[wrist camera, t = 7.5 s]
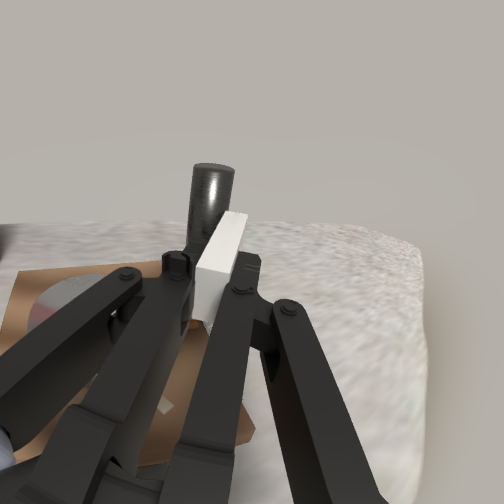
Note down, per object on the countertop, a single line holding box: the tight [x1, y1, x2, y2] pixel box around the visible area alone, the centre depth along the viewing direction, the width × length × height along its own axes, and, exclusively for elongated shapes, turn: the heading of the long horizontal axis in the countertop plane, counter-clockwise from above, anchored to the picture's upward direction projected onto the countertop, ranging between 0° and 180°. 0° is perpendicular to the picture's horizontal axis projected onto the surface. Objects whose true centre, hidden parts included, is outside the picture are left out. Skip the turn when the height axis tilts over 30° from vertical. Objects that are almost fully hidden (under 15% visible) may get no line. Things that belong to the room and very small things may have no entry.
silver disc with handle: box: [27, 163, 235, 387], centre depth 16 cm, size 14×9×11 cm, turn 123°
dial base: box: [0, 261, 256, 467], centre depth 18 cm, size 18×16×2 cm
